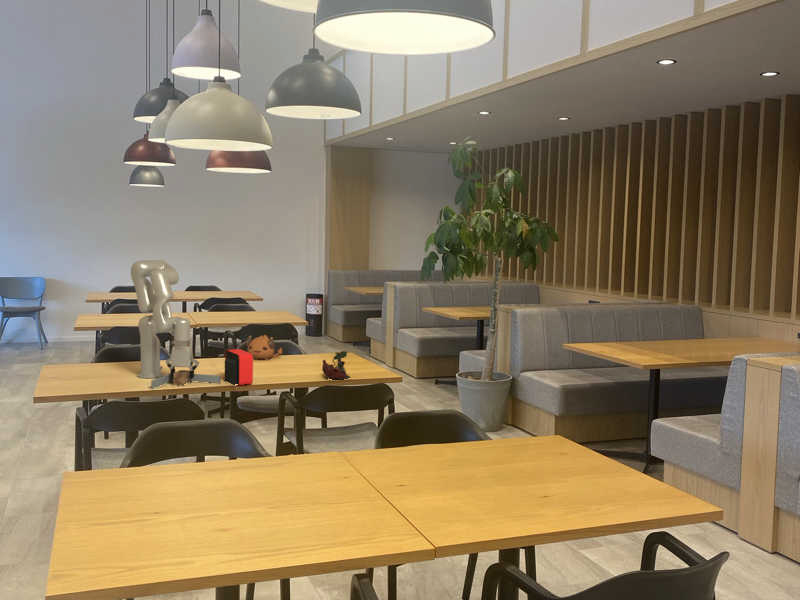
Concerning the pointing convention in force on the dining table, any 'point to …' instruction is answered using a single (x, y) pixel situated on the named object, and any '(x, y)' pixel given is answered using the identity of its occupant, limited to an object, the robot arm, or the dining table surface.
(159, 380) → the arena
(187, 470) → the dining table surface
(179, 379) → the walnut block
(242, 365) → the red black block
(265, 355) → the toy
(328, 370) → the multicoloured piece
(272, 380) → the dining table surface
